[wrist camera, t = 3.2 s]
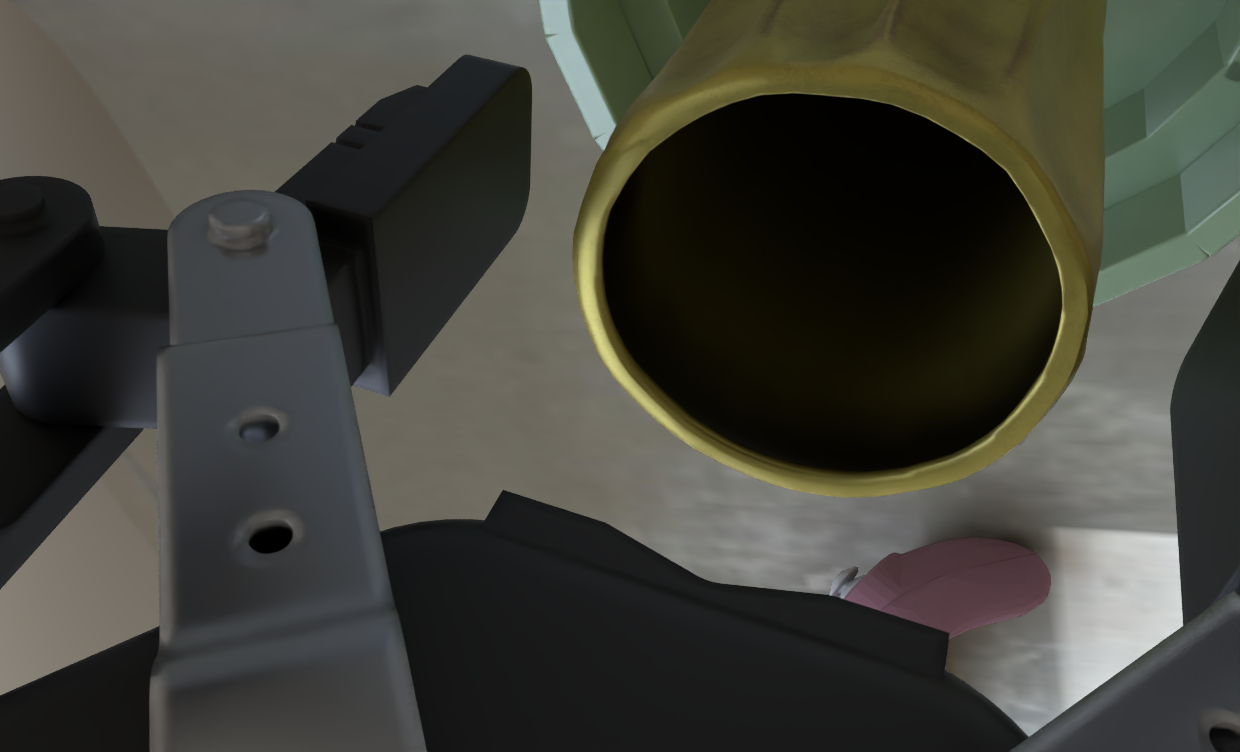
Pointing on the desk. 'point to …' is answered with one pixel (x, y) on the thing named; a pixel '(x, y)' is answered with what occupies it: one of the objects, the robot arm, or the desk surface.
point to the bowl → (1133, 114)
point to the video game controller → (952, 584)
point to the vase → (854, 235)
